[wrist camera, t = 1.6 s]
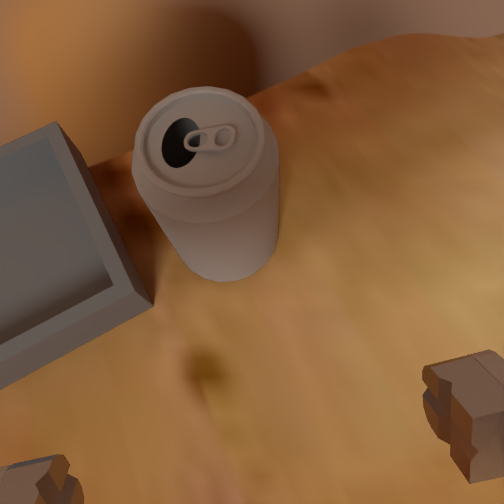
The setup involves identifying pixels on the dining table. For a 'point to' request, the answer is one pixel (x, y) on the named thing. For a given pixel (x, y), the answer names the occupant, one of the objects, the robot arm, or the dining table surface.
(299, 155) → the dining table surface
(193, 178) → the can
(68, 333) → the tray
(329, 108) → the dining table surface
